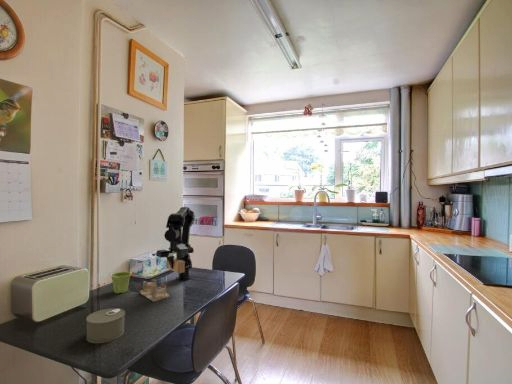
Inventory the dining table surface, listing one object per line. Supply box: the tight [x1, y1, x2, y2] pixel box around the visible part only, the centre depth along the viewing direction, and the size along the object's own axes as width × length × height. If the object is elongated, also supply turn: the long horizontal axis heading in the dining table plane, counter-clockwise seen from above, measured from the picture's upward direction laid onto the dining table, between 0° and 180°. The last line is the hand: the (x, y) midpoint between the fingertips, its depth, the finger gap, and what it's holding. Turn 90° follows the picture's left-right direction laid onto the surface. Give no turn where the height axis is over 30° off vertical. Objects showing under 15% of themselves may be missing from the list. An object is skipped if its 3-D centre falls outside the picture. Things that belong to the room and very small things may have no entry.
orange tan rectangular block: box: [165, 257, 185, 274], centre depth 141 cm, size 13×3×6 cm, turn 47°
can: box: [85, 307, 126, 344], centre depth 96 cm, size 12×12×7 cm
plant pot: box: [110, 271, 132, 294], centre depth 137 cm, size 9×9×9 cm
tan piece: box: [139, 278, 170, 302], centre depth 133 cm, size 15×8×6 cm, turn 46°
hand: (175, 268), depth 141 cm, fingers closed on orange tan rectangular block, 3 cm apart
